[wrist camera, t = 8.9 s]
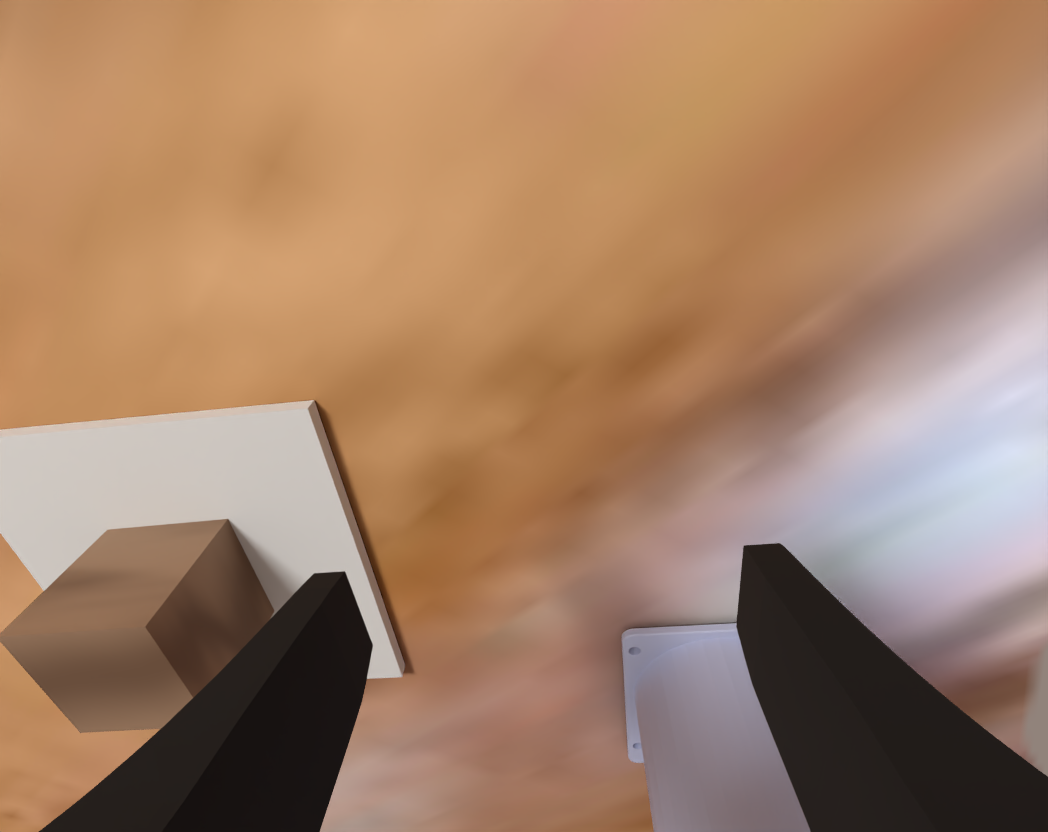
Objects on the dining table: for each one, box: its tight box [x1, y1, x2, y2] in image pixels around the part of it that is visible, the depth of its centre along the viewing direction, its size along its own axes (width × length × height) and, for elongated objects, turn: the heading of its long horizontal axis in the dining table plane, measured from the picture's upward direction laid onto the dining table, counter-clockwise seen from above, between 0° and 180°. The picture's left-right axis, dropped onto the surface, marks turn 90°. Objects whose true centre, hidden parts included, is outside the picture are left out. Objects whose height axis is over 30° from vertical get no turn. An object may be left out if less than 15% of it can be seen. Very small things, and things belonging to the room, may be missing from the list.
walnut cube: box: [0, 519, 274, 733], centre depth 20 cm, size 5×5×5 cm
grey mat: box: [0, 400, 405, 679], centre depth 23 cm, size 14×14×1 cm
